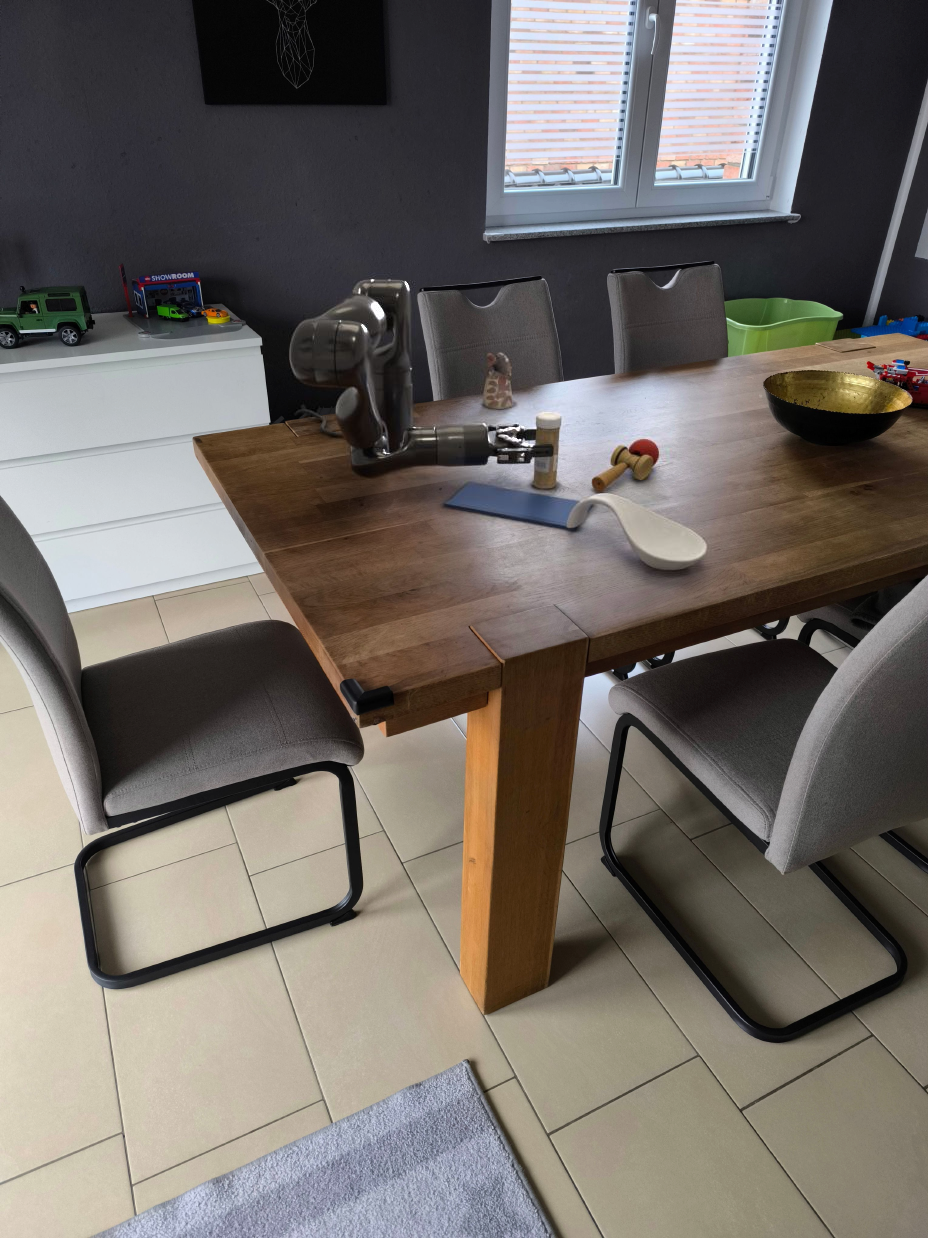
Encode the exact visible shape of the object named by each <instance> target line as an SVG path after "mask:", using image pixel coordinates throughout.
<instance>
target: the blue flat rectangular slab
mask: <svg viewBox="0 0 928 1238" xmlns="http://www.w3.org/2000/svg"><path fill="white" fill-rule="evenodd" d="M579 502H580V500H573V499H569V498H563V497H562V498H561V497H556V496H551V495H545V494H539V493H534V492H528V491H523V490H516V489H510V488H505V487H498V486H493V485H488V484H487V485H486V484H481V483H475V482H471V481H470V482H468V483H467V484H466V485H465V486H464V487H462V488H461V489H460V490H459V491H458V492H457V493H456V494H455V495H454V496H452V497H451V498H450V499H449V500H447V501H446V502H444V507H446V508H451V509H456V510H462V511H468V512H473V513H478V514H483V515H488V516H494V517H499V518H505V519H510V520H514V521H515V520H516V521H521V522H526V523H531V524H537V525H541V526H542V525H543V526H547V527H553V528H559V529H564V530H570V531H576V529H577V527H578V526H576V527H574V528H567V527H566V524H567V520H568V517H569V515H570V513H571V511H572V509H573V508H574V507H575V506H576V505H577V504H578V503H579ZM593 505H594V504H592V505H590V507H589V509H588V512H589V511H590V510H591V509H592V507H593ZM588 512H587V514H588Z"/></svg>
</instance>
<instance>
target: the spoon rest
mask: <svg viewBox="0 0 928 1238" xmlns="http://www.w3.org/2000/svg"><path fill="white" fill-rule="evenodd" d="M579 501H580V500H579ZM592 504H593V505H603V506H605V507H607V508H609V509H610V510H611V511H612V513H613V514H614V515H615V516H616V518H617V520H618V523H619V525H620V527H621V529H622V531H623V534H624V535H625V537H626V540H627V543H628V544H629V546H630V548H631V550H632V551H633V553H634V554H635V555H636V556H637V557H638V559H640V560H641V561H642V562H643V563H644V564H646V565H647V566H648V567H650V568H653V569H657V570H663V571H676V570H683V569H686V568H688V567H691V566H693V565H695V564H696V563H698V562H700V561H701V560H702V559H703V558H704V557H705V556H706V554H707V552H708V546H707V544H706V542H705V540H704V539H703V538H702V537H701V536H700V535H699V534H697V533H696V532H694V531H693V530H691V529H690V528H688V527H686V526H684V525H683V524H679V523H678V522H676V521H673V520H671V519H669V518H666V517H664V516H662V515H660V514H658V513H657V512H653V511H652V510H650V509H648V508H645V507H644V506H642V505H640V504H637V503H635V502H633V501H631V500H629V499H627V498H624V497H622V496H619V495H616V494H613V493H607V492H606V493H605V492H603V493H602V492H600V493H596V494H593V495H591V496H590V497H588V498H585V499H583V500H581V501H580V502H579V503H578V504H577V505H576V506H575V507H574V508H573V509H572V511H571V513H570V515H569V517H568V520H567V524H566V527H567V528H574V527H576V526H577V527H578V526H580V525H582V524H584V523H585V522H586V520H587V516H588V513H587V512H589V511H588V509H589V507H590V505H592ZM577 527H576V528H577Z"/></svg>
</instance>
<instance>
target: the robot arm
mask: <svg viewBox="0 0 928 1238" xmlns="http://www.w3.org/2000/svg"><path fill="white" fill-rule="evenodd" d="M387 333H391V334H392V335H393V337H392V339H391V340H389V341H388V342H387V343H385V344H382V345H381V343H382V342H383V341H384V338H385V337H386V334H387ZM289 363H290V367H291V369H292V372H293V374H294V376H295V377H296V379H298V381H300V382H301V383H302V384H305V385H307V386H312V387H318V388H321V387H322V388H324V387H325V388H339V389H341V388H342V389H344V390H343V392H342V393H341V394H340V396H339V398H338V400H337V401H336V406H335V418H336V422H337V425H338V427H339V429H340V430H339V431H340V432H341V433H340V432H335V431H331V430H328V429H326V428H325V427H326V426H327V425H326V424H327V420H326V419H325V418H324V417H323V418H321V417H322V416H321V415H320V414H318V413H316V412H314V411H313V410H310V409H305V408H303V409H297V411H295V413H294V414H293V416H294V417H298V416H300V415H301V414H306V415H310V416H311V417H314V418H315V419H317V420H319V421H320V422H321V424H320V425H319V430H320V432H321V433H322V434H324V435H328V436H331V437H335V438H344V440H345V442H346V443H347V444H348V445H349V460H350V461H349V462H350V469H351V471H352V472H353V474H354V475H356V476H357V477H359V478H361V479H365V480H375V479H379V478H382V477H385V476H388V475H391V474H394V473H398V472H400V471H404V470H408V469H412V468H422V467H423V468H424V467H446V468H452V467H453V468H455V467H456V468H457V467H476V466H477V467H480V466H486V465H487V464H488V462H489V458H490V457H494V458H496V464H497V465H530V464H531V463H532V462H531V460H533V459H534V458H536V457H552V456H553V454H554V446H553V445H552V444H535V443H534V444H530V443H526V442H527V441H528V442H530V441H531V442H532V441H536V429H537V428H536V427H524V426H523V425H522V426H521V425H520V423H517V422H516V423H500V424H498V423H497V424H486V423H484V422H480V423H479V422H477V423H476V422H475V423H451V424H443V425H436V426H415V420H414V419H415V418H414V391H413V390H414V389H413V388H414V387H413V365H412V364H413V363H412V293H411V289H410V286H409V284H408V283H407V281H406V280H403V279H363V280H360V281H359V282H357V283H356V284H355V285H354V287H353V288H352V289H351V291H350V292H349V294H348V295H347V296H346V297H344V298H343V299H342V300H339V302H337V303H336V304H335V305H333V307H331V308H330V309H328V310H327V311H325V312H323V313H322V314H320V315H318V316H314V317H311V318H306V319H304V320H302V321H301V322H299V324H297V326H296V328H295V330H293V333H292V336H291V340H290V344H289ZM523 441H525V442H523Z"/></svg>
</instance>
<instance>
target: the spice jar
mask: <svg viewBox="0 0 928 1238" xmlns="http://www.w3.org/2000/svg"><path fill="white" fill-rule="evenodd" d="M562 419H563V418H562V415H561V414H560V413H558V412H554V411H541V412H539V413H537V414H536V417H535V426H536V427H535V428H537V429H536V440H534V444H552V445H553V446H554V454H553V456H552V457H536V458H533V480H532V485H533V486H534V487H536V488H538V489H543V490H544V489H545V490H548V489H553V488H555V487H556V486H557V483H558V481H557V478H558V477H557V475H558V468H559V467H558V463H559V449H560V445H559V444H560V432H561V431H560V429H561V426H562Z"/></svg>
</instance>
